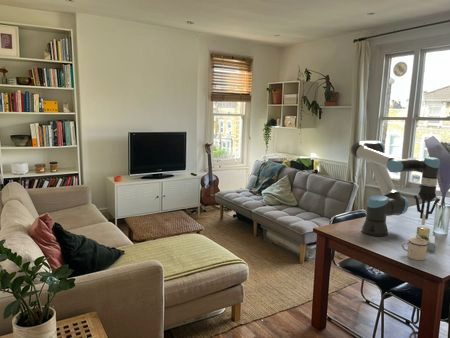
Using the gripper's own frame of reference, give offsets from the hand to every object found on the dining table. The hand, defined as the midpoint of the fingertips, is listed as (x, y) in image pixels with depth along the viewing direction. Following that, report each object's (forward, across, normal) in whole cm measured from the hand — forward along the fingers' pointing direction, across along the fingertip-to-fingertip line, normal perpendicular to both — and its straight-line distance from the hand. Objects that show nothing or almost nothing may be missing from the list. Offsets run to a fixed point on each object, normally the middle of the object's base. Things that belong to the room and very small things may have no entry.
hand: (423, 224), depth 194 cm
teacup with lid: (+12, -1, -22) cm, 25 cm away
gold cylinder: (+12, +1, -1) cm, 12 cm away
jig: (+12, +1, -1) cm, 12 cm away
